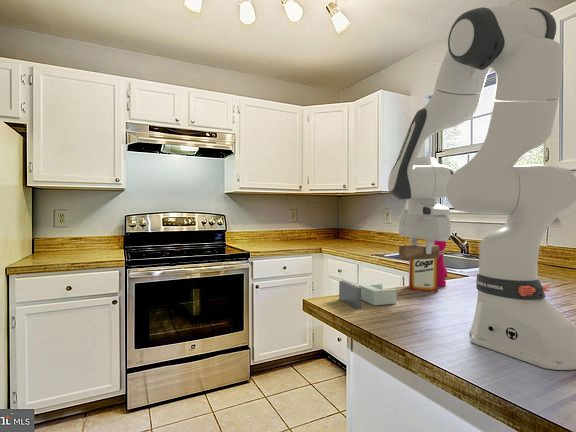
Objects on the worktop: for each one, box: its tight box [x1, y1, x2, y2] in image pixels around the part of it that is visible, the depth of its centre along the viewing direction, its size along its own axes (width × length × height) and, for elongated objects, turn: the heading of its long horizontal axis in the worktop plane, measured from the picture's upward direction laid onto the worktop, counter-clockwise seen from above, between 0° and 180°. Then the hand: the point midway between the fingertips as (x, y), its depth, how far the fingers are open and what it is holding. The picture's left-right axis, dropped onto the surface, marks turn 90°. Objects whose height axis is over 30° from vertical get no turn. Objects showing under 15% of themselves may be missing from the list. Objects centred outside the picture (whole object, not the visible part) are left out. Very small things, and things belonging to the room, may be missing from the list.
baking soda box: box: [408, 258, 439, 293], centre depth 126 cm, size 10×6×16 cm
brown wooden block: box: [398, 244, 439, 261], centre depth 110 cm, size 4×12×4 cm, turn 108°
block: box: [358, 283, 398, 306], centre depth 109 cm, size 9×8×4 cm
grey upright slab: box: [338, 280, 362, 310], centre depth 105 cm, size 11×2×6 cm, turn 19°
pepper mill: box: [434, 241, 448, 287], centre depth 133 cm, size 7×7×20 cm
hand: (421, 252), depth 110 cm, fingers closed on brown wooden block, 4 cm apart
